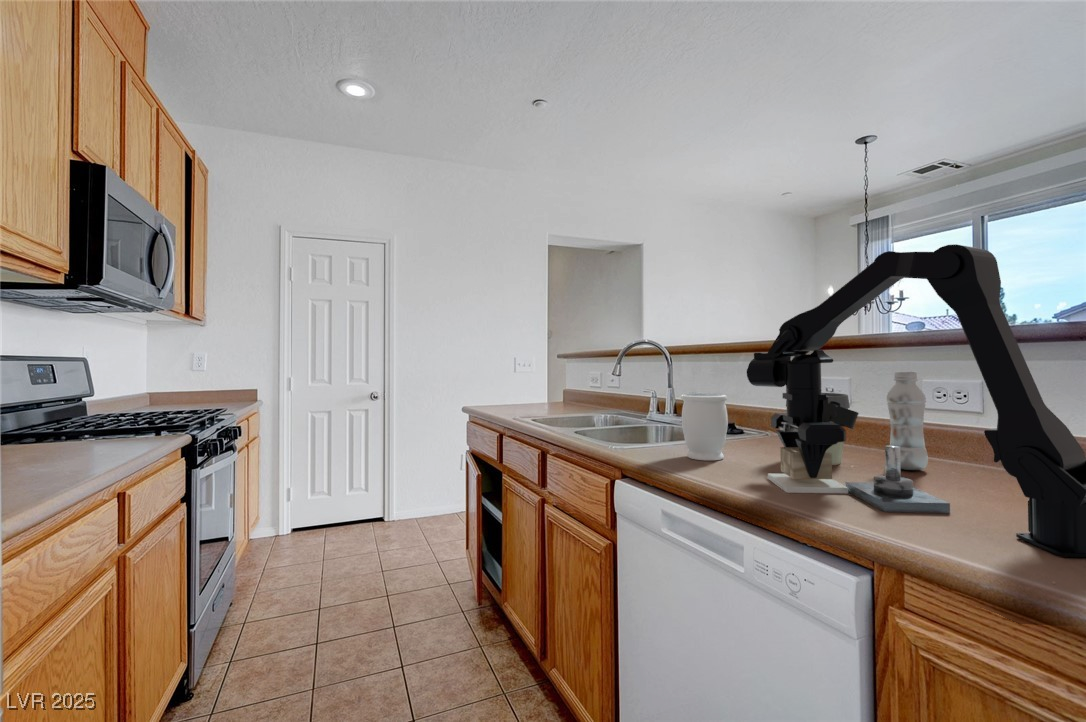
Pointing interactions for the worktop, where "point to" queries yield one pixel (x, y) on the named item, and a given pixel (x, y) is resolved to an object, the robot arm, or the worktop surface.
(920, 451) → the plastic bottle
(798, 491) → the tile pad
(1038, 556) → the worktop surface
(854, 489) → the post stand
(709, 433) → the jar
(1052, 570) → the worktop surface
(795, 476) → the collar
